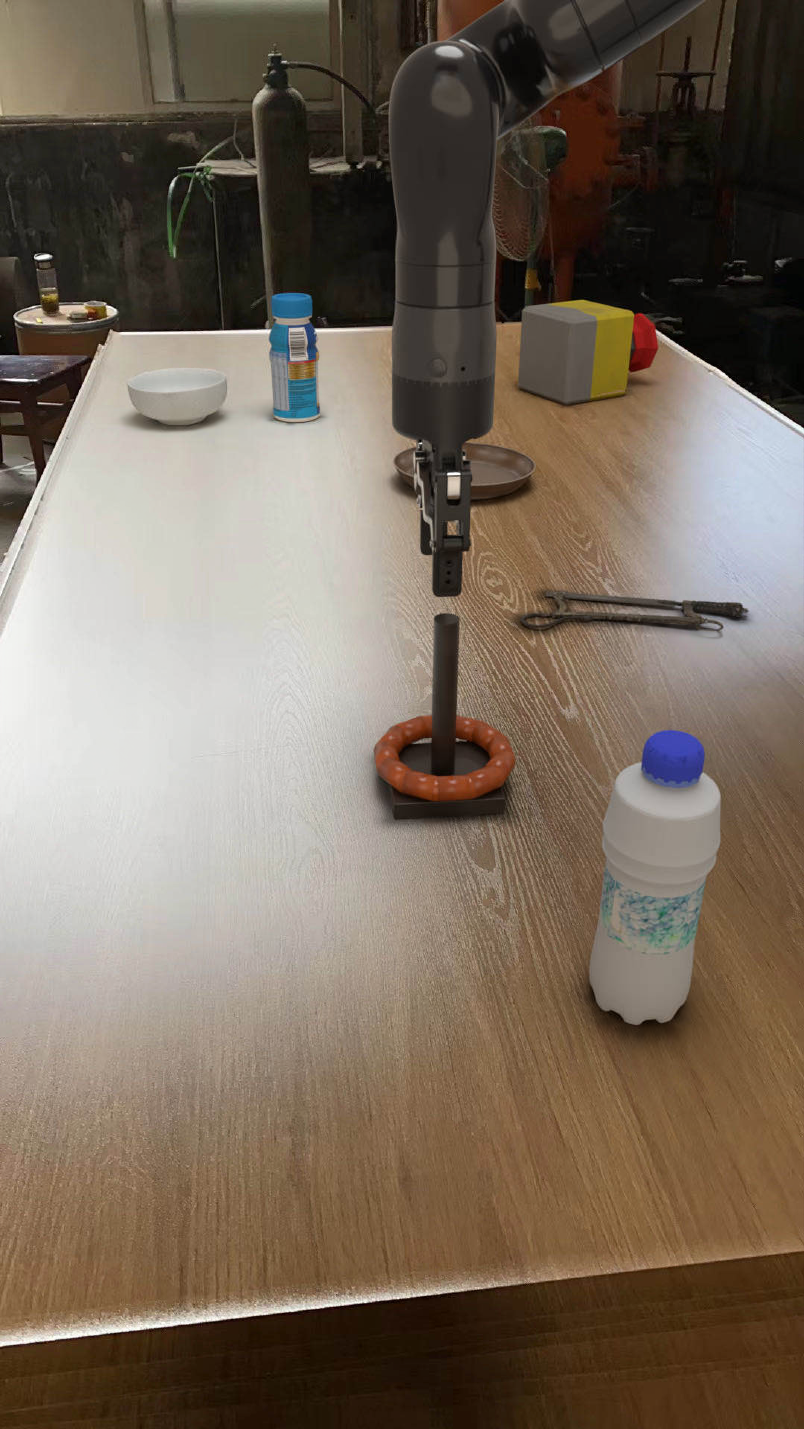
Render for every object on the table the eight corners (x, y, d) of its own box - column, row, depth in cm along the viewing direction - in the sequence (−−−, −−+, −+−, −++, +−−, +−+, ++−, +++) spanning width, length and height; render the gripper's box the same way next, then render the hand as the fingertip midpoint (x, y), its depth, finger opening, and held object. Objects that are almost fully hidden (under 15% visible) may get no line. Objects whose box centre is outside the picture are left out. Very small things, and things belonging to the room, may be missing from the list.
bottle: (643, 952, 74) (681, 697, 64) (711, 1017, 69) (764, 751, 59) (562, 986, 71) (589, 724, 61) (626, 1056, 66) (667, 783, 56)
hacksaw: (747, 613, 121) (749, 600, 120) (748, 654, 113) (751, 641, 112) (531, 590, 126) (532, 578, 125) (517, 628, 118) (518, 615, 117)
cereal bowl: (162, 403, 198) (158, 363, 194) (245, 411, 193) (243, 370, 190) (113, 428, 184) (107, 385, 180) (201, 437, 179) (197, 393, 176)
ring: (499, 726, 97) (500, 707, 96) (525, 801, 87) (527, 780, 86) (369, 733, 96) (369, 714, 95) (381, 809, 86) (380, 788, 85)
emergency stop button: (664, 389, 208) (675, 306, 200) (565, 406, 197) (572, 319, 189) (612, 373, 219) (620, 294, 211) (515, 388, 208) (520, 306, 200)
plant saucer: (506, 456, 170) (507, 435, 169) (555, 500, 153) (557, 477, 152) (378, 467, 166) (378, 445, 164) (414, 512, 149) (415, 489, 147)
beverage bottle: (263, 420, 188) (256, 298, 178) (286, 408, 195) (281, 290, 185) (307, 425, 185) (302, 302, 175) (329, 413, 192) (325, 293, 182)
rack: (486, 754, 96) (494, 592, 88) (504, 813, 88) (515, 642, 80) (384, 759, 95) (383, 596, 87) (393, 819, 87) (393, 647, 79)
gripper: (512, 388, 73) (501, 609, 81) (479, 343, 85) (472, 539, 93) (401, 391, 72) (401, 613, 81) (384, 345, 85) (385, 542, 93)
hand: (439, 573), depth 87 cm, fingers open, 8 cm apart
